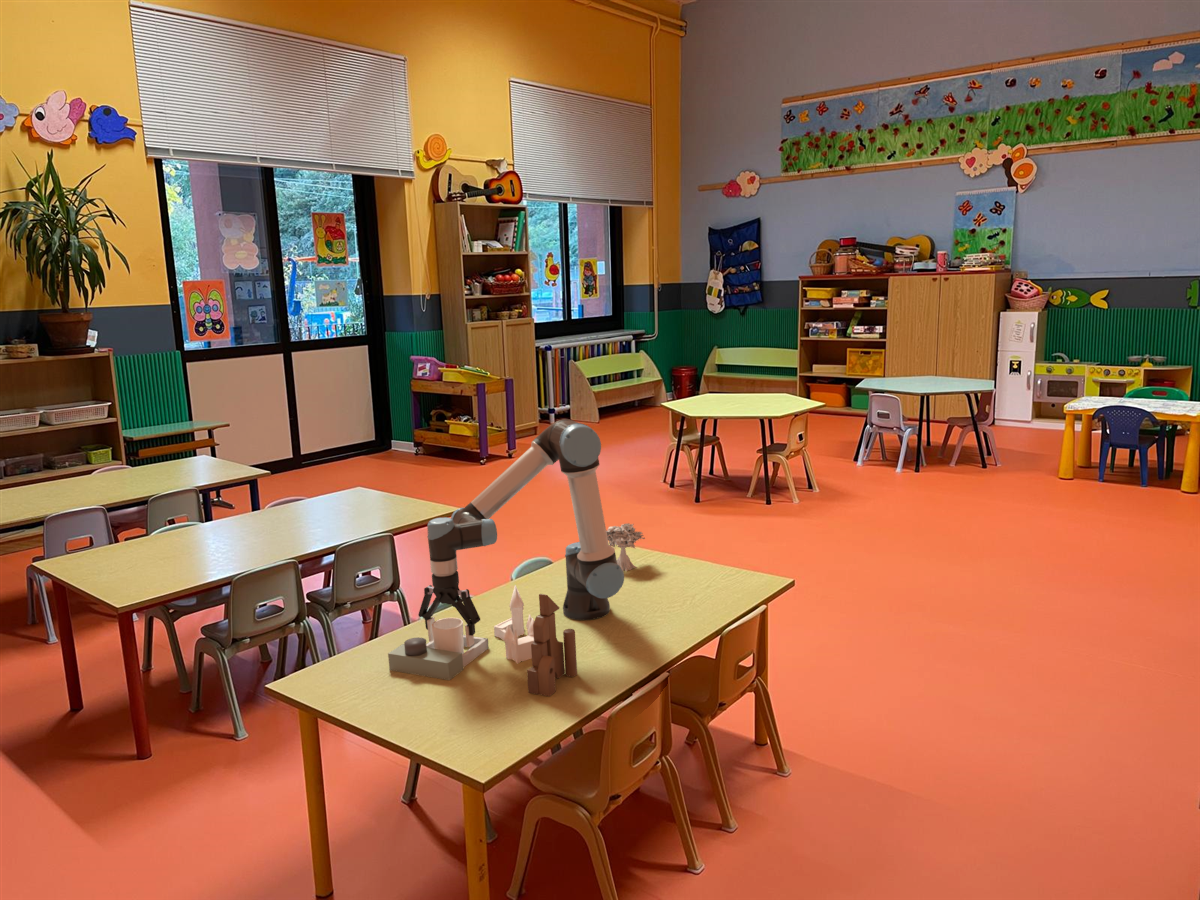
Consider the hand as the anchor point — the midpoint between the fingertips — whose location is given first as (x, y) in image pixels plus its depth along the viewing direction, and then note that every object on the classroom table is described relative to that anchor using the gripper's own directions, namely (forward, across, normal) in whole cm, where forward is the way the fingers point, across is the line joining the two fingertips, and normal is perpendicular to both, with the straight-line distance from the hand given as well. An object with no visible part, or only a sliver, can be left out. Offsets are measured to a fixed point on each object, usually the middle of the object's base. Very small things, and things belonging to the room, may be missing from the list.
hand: (451, 642), depth 257 cm
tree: (+5, -18, -87) cm, 89 cm away
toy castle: (+5, -14, -13) cm, 19 cm away
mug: (+4, 0, 0) cm, 4 cm away
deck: (+4, +2, +3) cm, 5 cm away
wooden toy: (+4, -36, +6) cm, 37 cm away
